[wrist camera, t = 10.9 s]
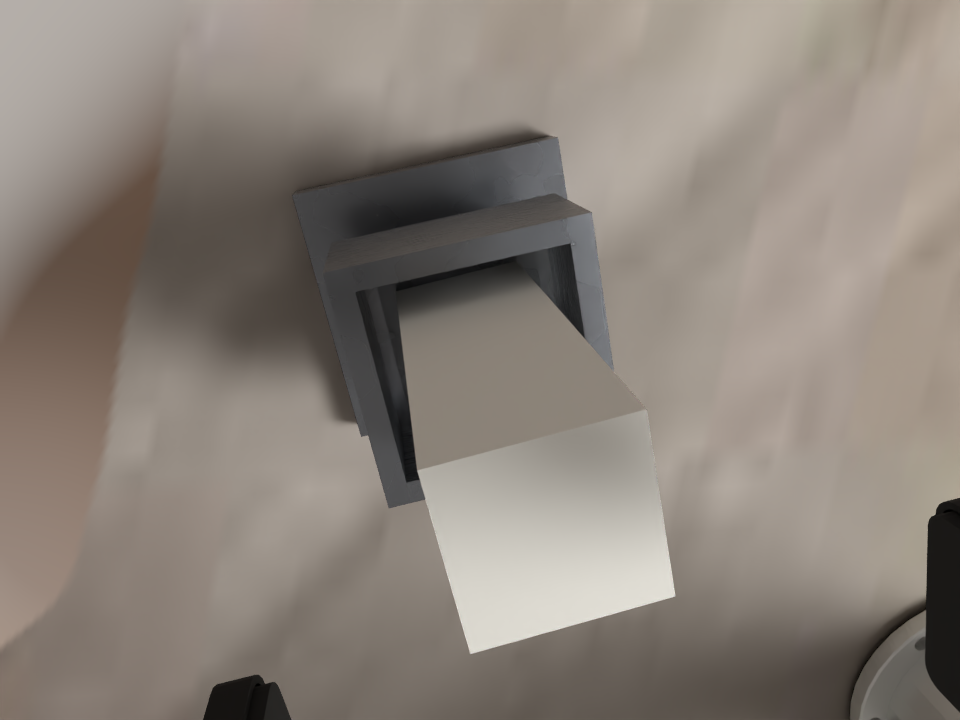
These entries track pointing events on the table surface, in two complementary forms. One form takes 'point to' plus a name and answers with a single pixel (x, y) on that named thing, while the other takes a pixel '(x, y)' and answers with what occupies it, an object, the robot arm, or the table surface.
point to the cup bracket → (440, 267)
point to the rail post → (528, 460)
